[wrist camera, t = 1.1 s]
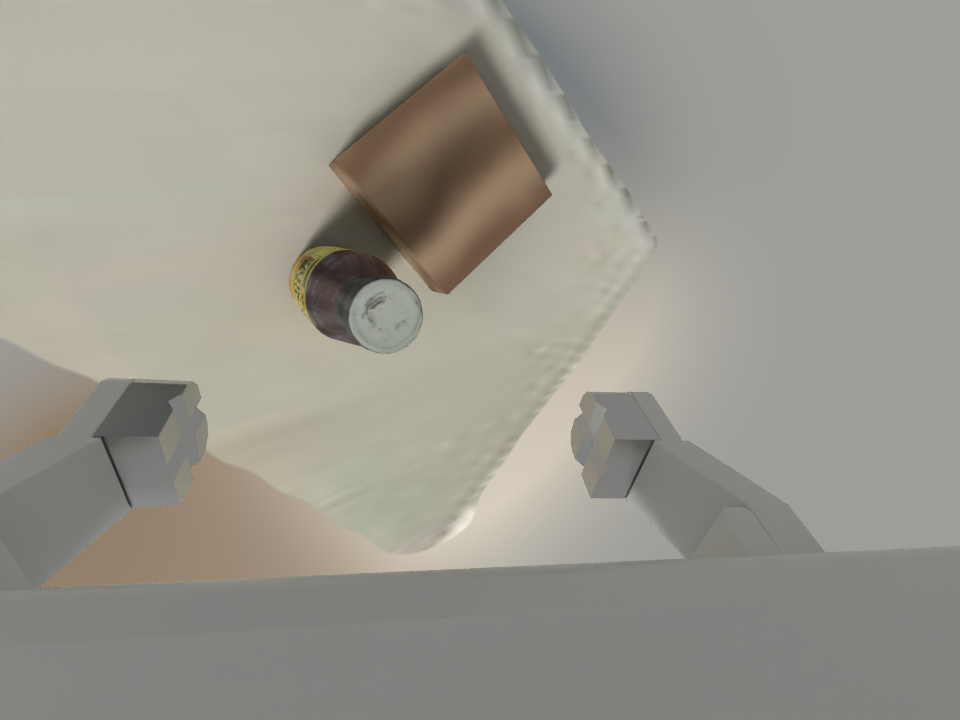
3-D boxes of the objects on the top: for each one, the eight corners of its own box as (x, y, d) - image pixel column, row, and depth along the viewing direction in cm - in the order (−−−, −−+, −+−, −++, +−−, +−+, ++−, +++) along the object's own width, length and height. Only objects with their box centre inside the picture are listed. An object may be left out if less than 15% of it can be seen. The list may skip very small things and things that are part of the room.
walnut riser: (328, 165, 41) (337, 157, 37) (446, 67, 43) (464, 51, 40) (432, 291, 47) (447, 294, 43) (530, 199, 49) (552, 194, 46)
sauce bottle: (281, 248, 40) (312, 245, 23) (356, 243, 43) (436, 238, 25) (293, 326, 42) (331, 379, 24) (365, 317, 45) (446, 359, 27)
